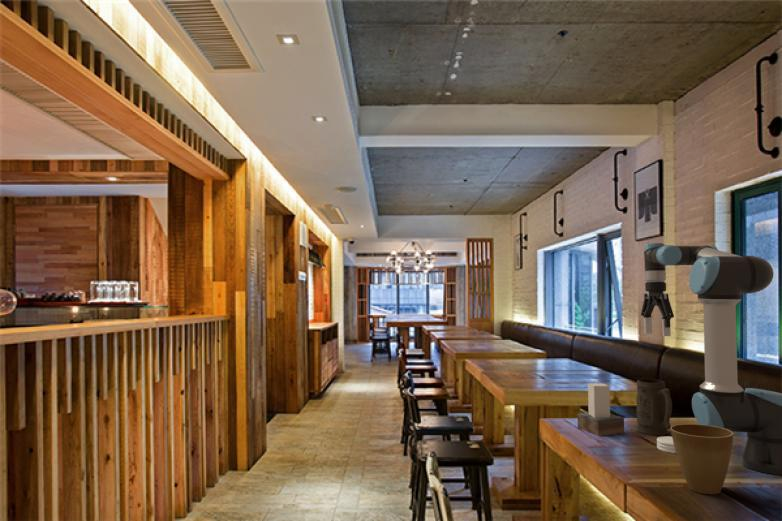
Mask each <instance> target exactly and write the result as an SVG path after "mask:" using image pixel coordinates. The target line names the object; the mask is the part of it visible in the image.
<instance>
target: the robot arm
mask: <svg viewBox="0 0 782 521" xmlns="http://www.w3.org/2000/svg"><path fill="white" fill-rule="evenodd" d="M643 255H644V256H643V258H644V259H643V260H644V281H645V283H644V285H645V288H644V290H645V292H648V293H644V294H643V296H644V297H643V303H642V307H641V312H640V315H641V316H642V317H643V318H644V319H643V320H644V334H647V335H648V334H649V335H651V334H653V319H652V318H653V316H652V314H653V311H654V309H655V306H656V307H657V308H658V309H659V311H660V313H661V316H662V317H661V320H662V322H661V324H662V337H671V336H672V335H671V334H672V333H671V320H672V319H673V318H675V315H674V312H673V308H672V305H671V301H670V297H669V293H664V292H666V291H667V282H665V281H666V280H667V273H666V270H667V269H666V266H691V268H690V272H689V280H688V282H689V283H688V284H689V287H690V290H691V292H693V293H694V294H695V295H697V300H698V301H699V303H701V304H702V305H703V338H704V339H703V345H704V346H703V347H704V349H703V350H704V381H703V382H702V383H701V384H700V385H699V391H698V392H695V393H694V394H693V395H692V398H691V408H692V412H693V415H694V417H695V420H696V422H697V423H698V424H700V425H709V426H715V427H720V428H724V429H727V430H730V431H732V432H733V433H746V442H745V444H744V447H743V451H742V453H741V456H740V458H741V460H740V461H741V464H742V465H743V466H744V467H746V468H748V469H749V470H754V471H757V472H761V473H766V474H771V475H779V476H782V393H781V392H777V391H771V390H767V389H761V388H754V387H745V389H744V388H743V387H742V386H741V385H739V383H738V352H737V351H738V345H737V344H738V343H737V310H736V308H737V304H739V303H740V302H742V294H747V295H748V294H754V293H759V292H761V291H764V290H765V289H766V288H767V287H768V286H770V284H772V282H773V279H774V269H773V266H772V265H771V263H770V262H768V260H766V259H765V258H761V257H759V256H754V255H743V256H741V255H738V254H735V253H729V252H727V251H723V250H719V249H718V248H717V246H716V245H673V244H669V245H668V244H664V243H663V242H649V243H646V244H644V246H643Z"/></svg>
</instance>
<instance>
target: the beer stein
mask: <svg viewBox="0 0 782 521" xmlns="http://www.w3.org/2000/svg"><path fill="white" fill-rule="evenodd" d="M636 386H637V387H636V390H637V391H636V393H637V394H636V423H637V426H636V431H637V432H639V433H640V432H641V434H643V433H644V434H643V435H648V434H650V436H665V434H666V435H667V434H668V433H669V431H668V430H671V429H670V427H671V426H672V425H671V424H670V423H671V422H670V420H671V417H672V411H673V401H672V397H671V393H670V390H671V389H669V388H667V387H666V383H665V381H663V380H660V379H655V378H640V379H637V381H636Z"/></svg>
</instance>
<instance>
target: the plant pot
mask: <svg viewBox="0 0 782 521" xmlns="http://www.w3.org/2000/svg"><path fill="white" fill-rule="evenodd" d="M669 430H670V433H671V434H670V435H671V437H672V438H673V443H674V447H675V451H676V458H677V460H678V463H679V466H680V469H681V471H682V475H683V477H684V479H685V482H686V484H687V486H688V488H689V489H690V491H693V492H695V493H699V494H703V495H704V494H705V495H718V494H720V493H721V491H722V489H723V486H724V483H725V481H726V477H727V474H728V469H729V467H730V462H731V456H732V452H733V451H732V449H733V442H734V432H732V431H730V430H727V429H724V428H720V427H715V426H709V425H700V424H699V423H698V424H697V423H681V424H674V425H671V427H670V429H669Z"/></svg>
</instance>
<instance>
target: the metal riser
mask: <svg viewBox="0 0 782 521" xmlns="http://www.w3.org/2000/svg"><path fill="white" fill-rule="evenodd" d="M577 429H578V430H581V431H584V432H586V433H590V434H592V435H596V436H598V437H601V436H611V435H610V434H612V435H618V434H620V435H621V434H625V418H624V417H623V416H619V415H616V414H615V415H614V414H612V413H610V418H594V417H593V416H591V415H589V412H585V413H584V412H581V413H580V412H579V413H577Z"/></svg>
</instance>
